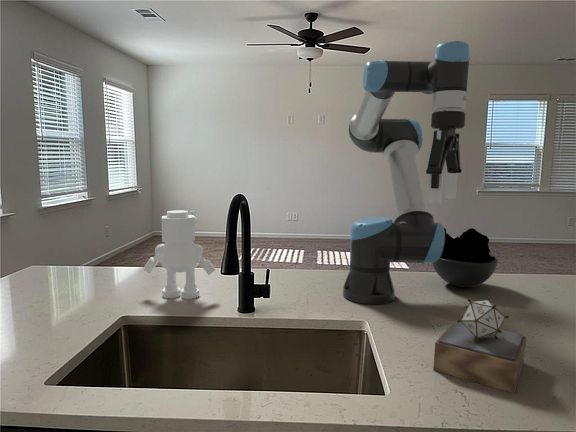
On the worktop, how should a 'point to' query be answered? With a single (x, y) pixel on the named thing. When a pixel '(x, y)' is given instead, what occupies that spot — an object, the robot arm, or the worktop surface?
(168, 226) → the robot toy
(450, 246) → the coal bowl
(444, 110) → the robot arm
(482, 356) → the walnut framed square mirror
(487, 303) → the game die
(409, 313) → the worktop surface
